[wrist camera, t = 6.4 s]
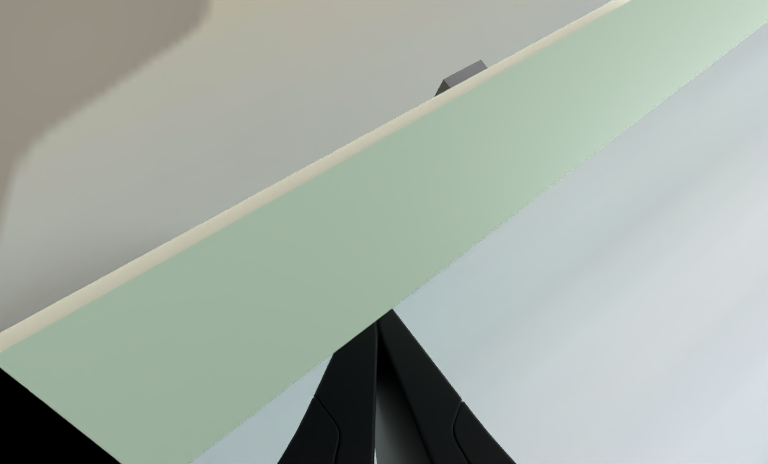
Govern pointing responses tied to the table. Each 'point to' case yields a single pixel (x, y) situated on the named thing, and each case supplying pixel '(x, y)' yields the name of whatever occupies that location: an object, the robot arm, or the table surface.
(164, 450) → the sage green panel
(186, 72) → the table surface
